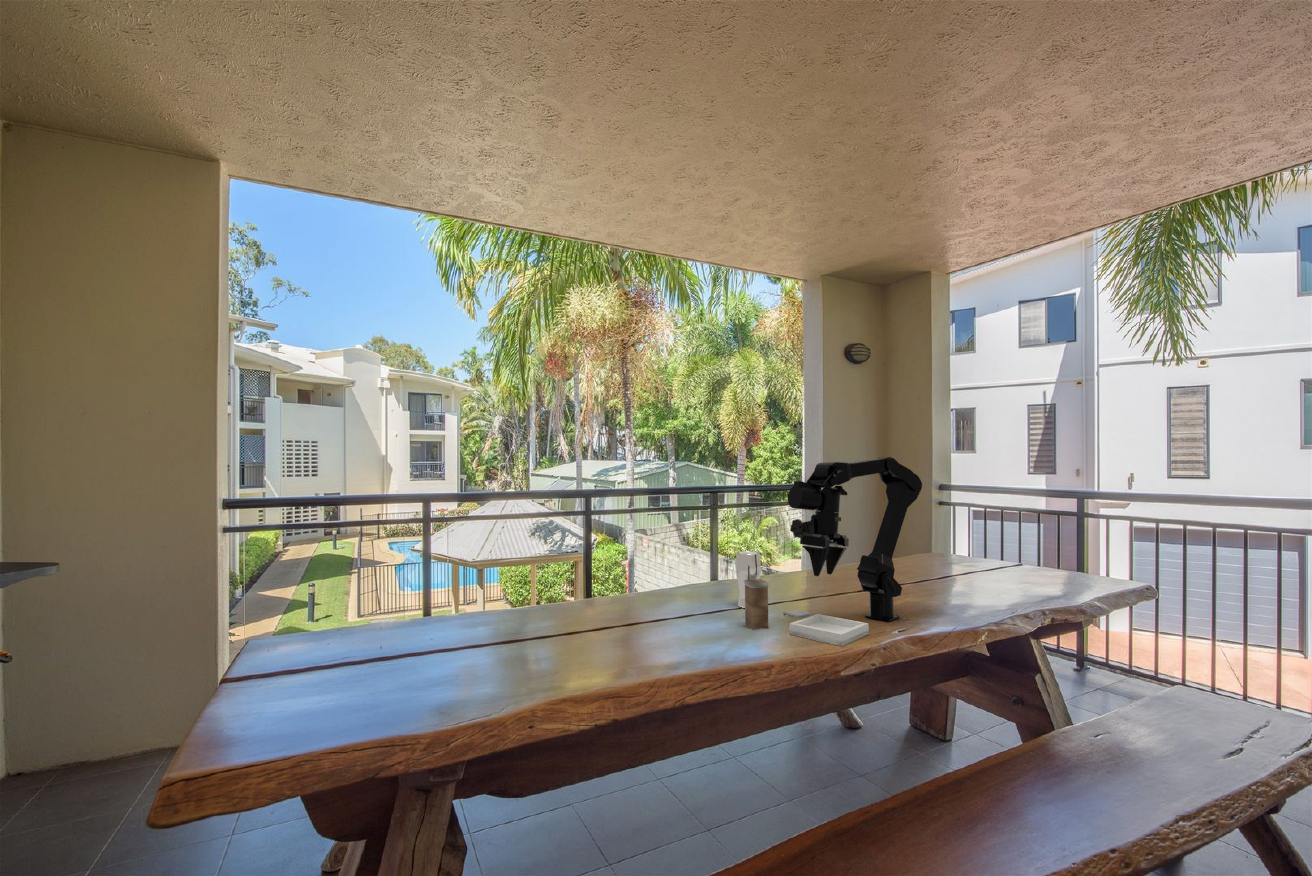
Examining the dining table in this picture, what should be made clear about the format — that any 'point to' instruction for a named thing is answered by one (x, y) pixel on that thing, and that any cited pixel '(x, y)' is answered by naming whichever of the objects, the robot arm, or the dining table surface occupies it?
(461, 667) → the dining table surface
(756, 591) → the brown rectangular block
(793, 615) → the slate tile
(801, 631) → the tray
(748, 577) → the beer glass
